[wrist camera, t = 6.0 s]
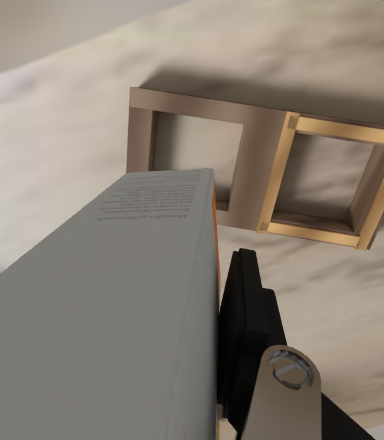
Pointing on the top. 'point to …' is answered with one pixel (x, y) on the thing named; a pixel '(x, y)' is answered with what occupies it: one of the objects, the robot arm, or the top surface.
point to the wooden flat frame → (267, 164)
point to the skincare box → (117, 318)
